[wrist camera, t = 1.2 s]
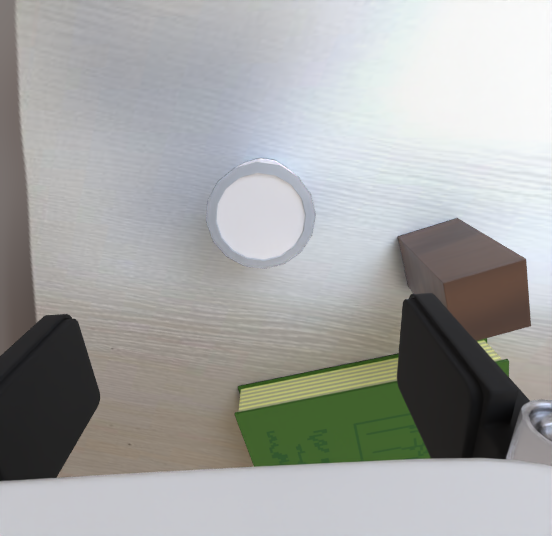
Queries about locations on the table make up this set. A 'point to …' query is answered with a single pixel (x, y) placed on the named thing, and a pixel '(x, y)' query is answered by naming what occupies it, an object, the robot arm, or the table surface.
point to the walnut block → (468, 277)
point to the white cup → (260, 214)
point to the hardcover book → (333, 415)
